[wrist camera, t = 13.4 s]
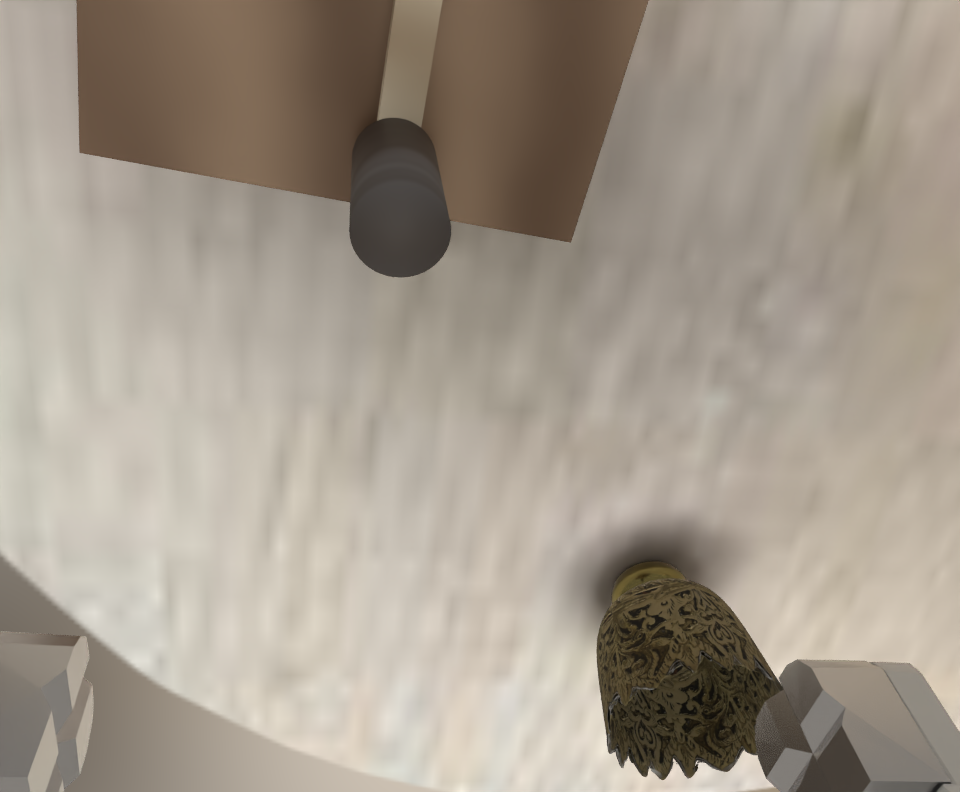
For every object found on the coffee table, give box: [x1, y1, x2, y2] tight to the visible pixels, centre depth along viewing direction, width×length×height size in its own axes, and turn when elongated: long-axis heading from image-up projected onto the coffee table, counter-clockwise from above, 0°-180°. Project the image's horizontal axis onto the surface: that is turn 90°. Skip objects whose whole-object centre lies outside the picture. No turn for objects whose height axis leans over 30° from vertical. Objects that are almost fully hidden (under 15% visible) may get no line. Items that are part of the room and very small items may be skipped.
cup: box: [597, 561, 783, 780], centre depth 37 cm, size 8×7×8 cm
